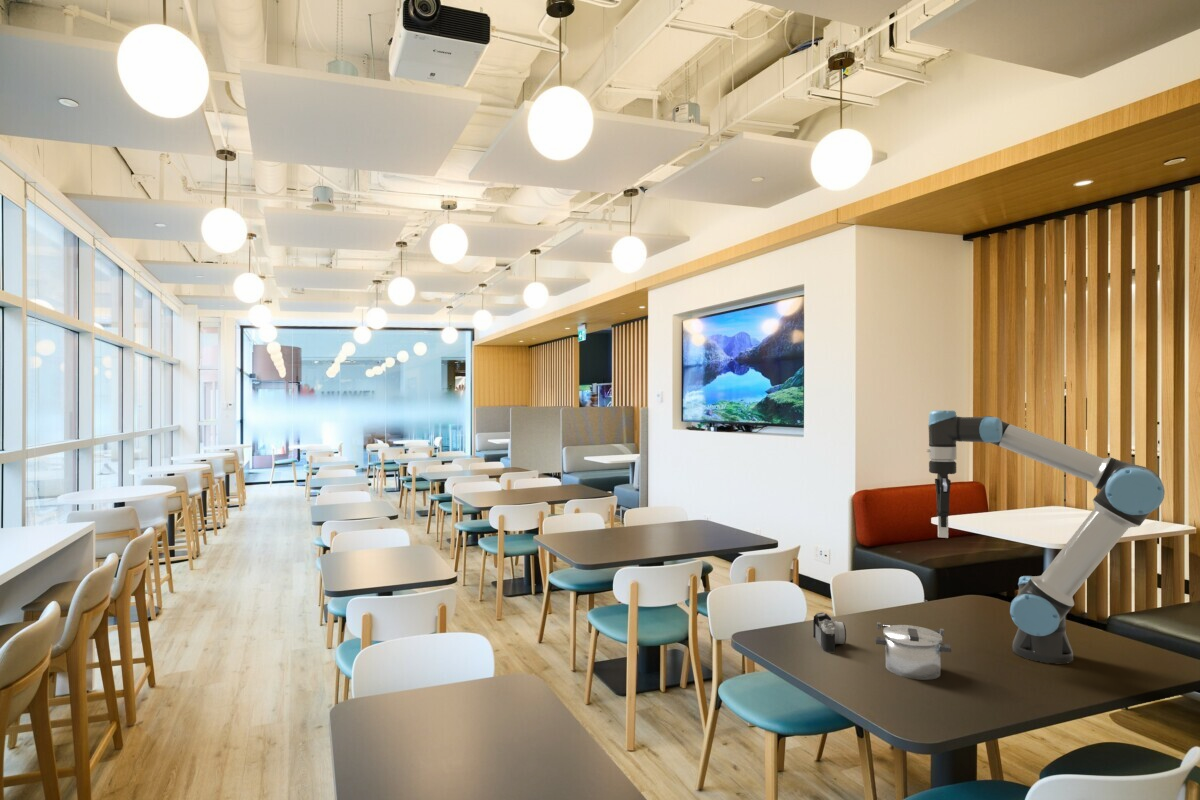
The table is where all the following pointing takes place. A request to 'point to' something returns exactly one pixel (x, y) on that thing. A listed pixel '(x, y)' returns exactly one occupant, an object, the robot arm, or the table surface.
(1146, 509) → the robot arm
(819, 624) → the camera
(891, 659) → the pot
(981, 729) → the table surface
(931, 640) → the lid
